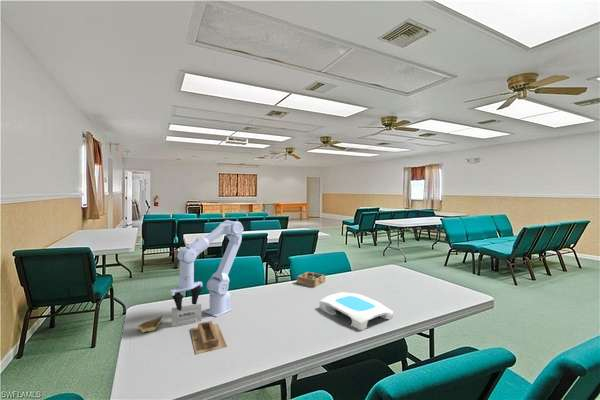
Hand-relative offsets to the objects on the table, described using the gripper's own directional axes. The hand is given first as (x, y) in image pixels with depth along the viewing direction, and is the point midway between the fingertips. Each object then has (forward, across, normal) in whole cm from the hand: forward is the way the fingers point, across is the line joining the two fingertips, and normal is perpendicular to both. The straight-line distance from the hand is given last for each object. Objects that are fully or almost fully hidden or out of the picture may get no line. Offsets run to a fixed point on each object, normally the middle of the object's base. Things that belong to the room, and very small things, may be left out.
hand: (186, 307), depth 121 cm
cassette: (+7, 0, 0) cm, 7 cm away
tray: (+7, +3, +18) cm, 20 cm away
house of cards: (+8, -80, +16) cm, 82 cm away
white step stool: (+8, -50, +57) cm, 76 cm away
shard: (+8, +9, -13) cm, 18 cm away
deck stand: (+7, -77, +16) cm, 79 cm away
